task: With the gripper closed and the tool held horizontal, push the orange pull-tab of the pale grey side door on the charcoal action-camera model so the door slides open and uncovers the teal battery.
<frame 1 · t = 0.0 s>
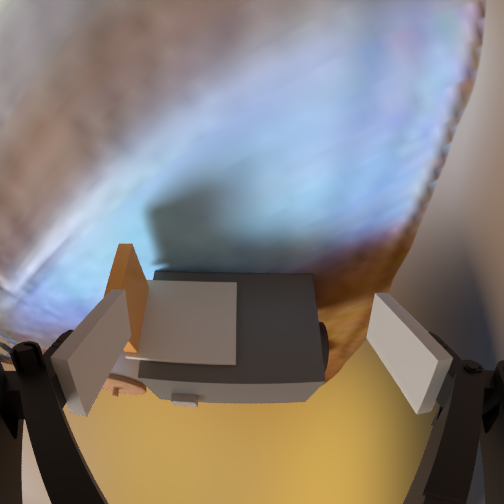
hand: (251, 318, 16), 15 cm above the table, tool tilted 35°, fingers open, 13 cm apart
lidded bowl: (122, 346, 61), on the table
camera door: (176, 302, 31), point 7 cm above the table, slide at 0.0 cm
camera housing: (233, 297, 44), on the table
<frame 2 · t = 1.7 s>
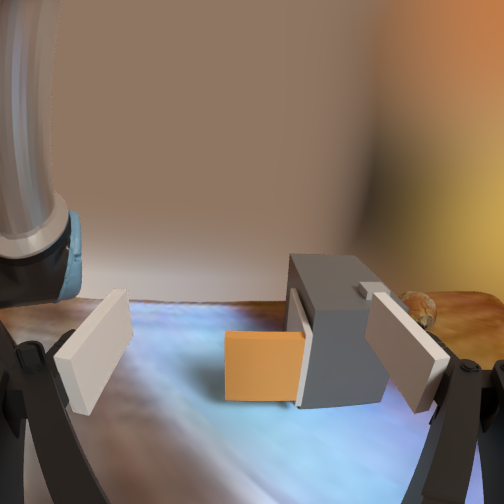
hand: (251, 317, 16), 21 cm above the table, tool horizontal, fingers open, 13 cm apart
bread roll: (411, 322, 57), on the table
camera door: (263, 344, 37), point 7 cm above the table, slide at 0.0 cm
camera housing: (329, 362, 45), on the table
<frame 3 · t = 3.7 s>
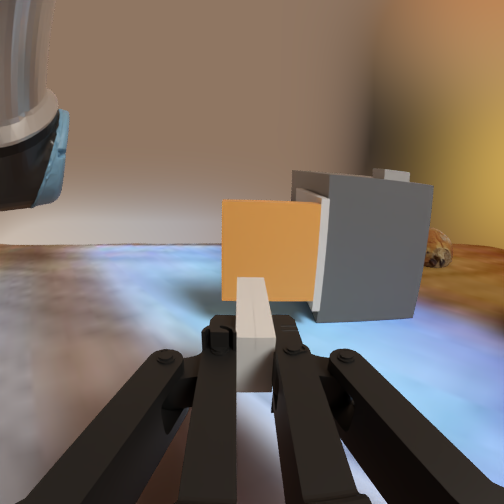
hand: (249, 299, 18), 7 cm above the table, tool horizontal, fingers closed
bread roll: (426, 262, 52), on the table
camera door: (268, 240, 32), point 7 cm above the table, slide at 0.0 cm
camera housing: (343, 285, 40), on the table
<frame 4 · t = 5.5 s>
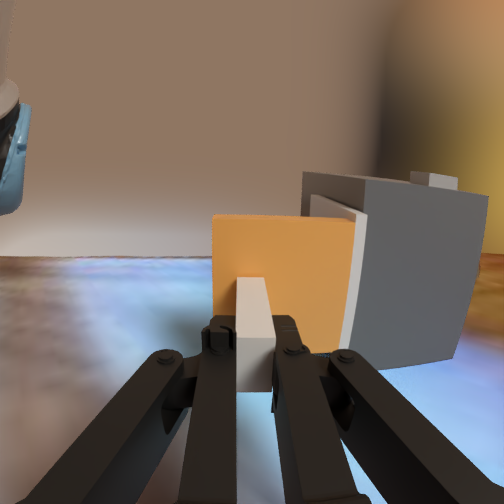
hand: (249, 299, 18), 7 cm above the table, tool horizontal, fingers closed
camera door: (276, 265, 24), point 7 cm above the table, slide at 0.1 cm, touching gripper
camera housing: (366, 313, 32), on the table
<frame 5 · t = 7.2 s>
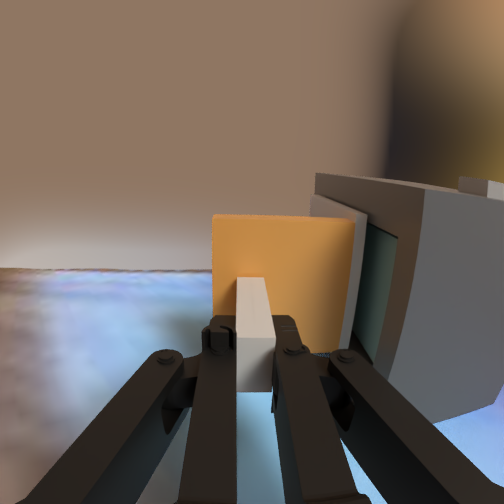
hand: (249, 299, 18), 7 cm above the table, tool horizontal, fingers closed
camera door: (276, 265, 24), point 7 cm above the table, slide at 6.9 cm, touching gripper
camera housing: (391, 346, 25), on the table
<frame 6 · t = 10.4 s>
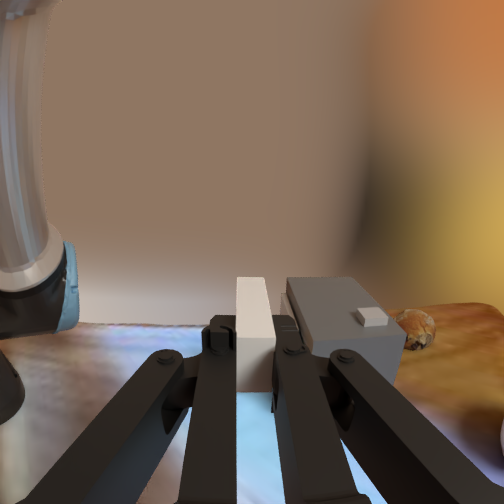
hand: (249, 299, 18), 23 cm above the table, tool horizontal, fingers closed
bread roll: (410, 340, 56), on the table
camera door: (259, 340, 44), point 7 cm above the table, slide at 7.9 cm
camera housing: (328, 384, 44), on the table
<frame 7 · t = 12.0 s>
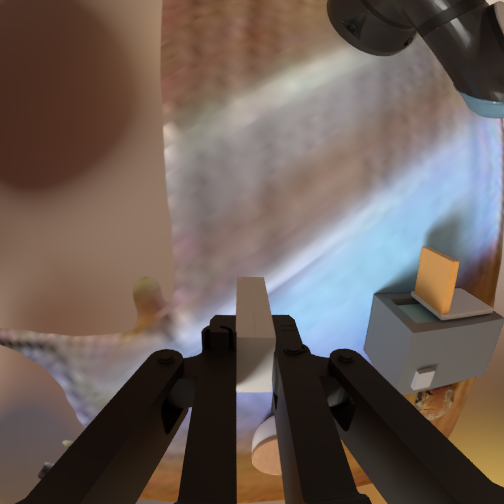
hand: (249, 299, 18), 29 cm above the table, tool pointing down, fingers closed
bread roll: (430, 394, 58), on the table
lidded bowl: (280, 424, 57), on the table
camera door: (457, 279, 43), point 7 cm above the table, slide at 7.9 cm
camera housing: (414, 321, 52), on the table
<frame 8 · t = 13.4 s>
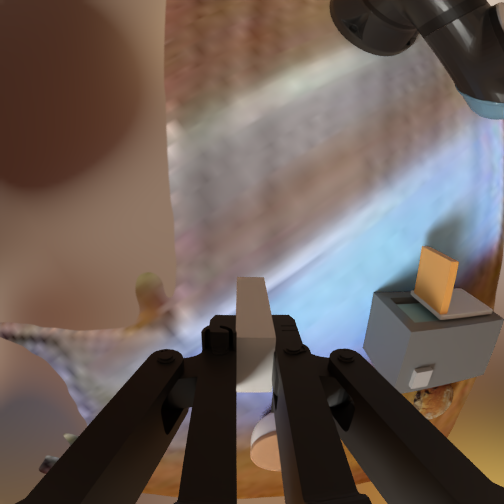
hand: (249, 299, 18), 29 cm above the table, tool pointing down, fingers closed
bread roll: (428, 393, 59), on the table
lidded bowl: (279, 420, 58), on the table
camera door: (457, 279, 43), point 7 cm above the table, slide at 7.9 cm
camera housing: (414, 320, 52), on the table
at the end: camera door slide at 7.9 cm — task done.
